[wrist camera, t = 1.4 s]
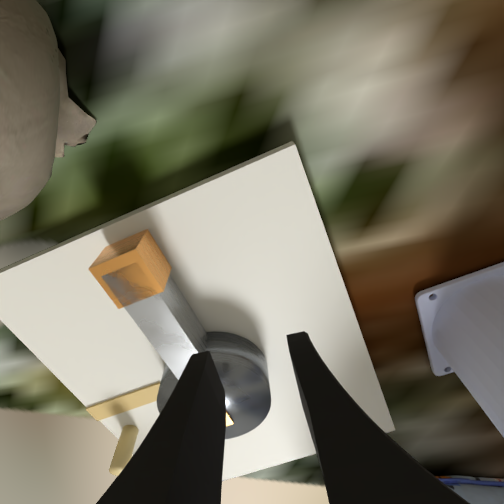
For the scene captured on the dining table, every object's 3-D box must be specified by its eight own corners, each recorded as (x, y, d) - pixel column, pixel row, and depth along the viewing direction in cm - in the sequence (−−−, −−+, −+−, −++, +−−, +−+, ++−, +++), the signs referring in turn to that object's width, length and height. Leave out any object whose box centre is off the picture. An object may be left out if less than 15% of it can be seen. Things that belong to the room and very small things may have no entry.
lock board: (292, 141, 17) (306, 156, 14) (390, 419, 28) (412, 468, 24) (-20, 277, 20) (-75, 320, 17) (175, 483, 31) (167, 536, 27)
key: (282, 388, 24) (287, 423, 22) (194, 417, 25) (190, 453, 23) (185, 211, 18) (176, 232, 15) (72, 259, 19) (48, 287, 16)
